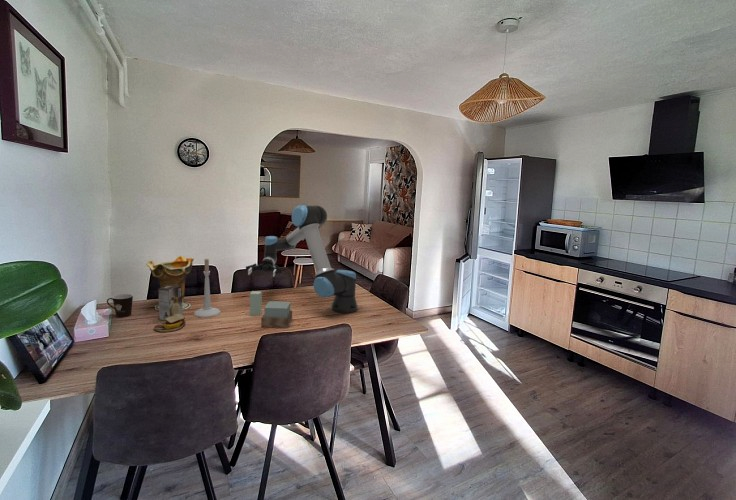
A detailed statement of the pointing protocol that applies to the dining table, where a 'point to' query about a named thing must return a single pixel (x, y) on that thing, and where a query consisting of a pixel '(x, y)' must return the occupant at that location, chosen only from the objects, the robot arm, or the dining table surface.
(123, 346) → the dining table surface
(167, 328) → the toy sandwich meal
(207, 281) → the candlestick
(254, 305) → the sage pillar block
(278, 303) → the slate top block
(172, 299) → the coffee box
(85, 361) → the dining table surface
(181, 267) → the decorative vase
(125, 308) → the coffee mug
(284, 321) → the walnut base block
